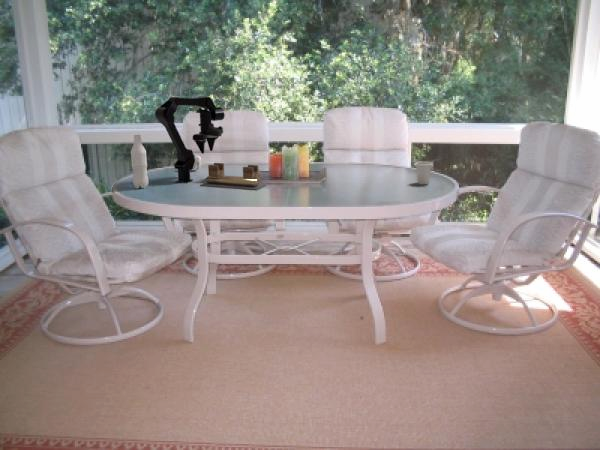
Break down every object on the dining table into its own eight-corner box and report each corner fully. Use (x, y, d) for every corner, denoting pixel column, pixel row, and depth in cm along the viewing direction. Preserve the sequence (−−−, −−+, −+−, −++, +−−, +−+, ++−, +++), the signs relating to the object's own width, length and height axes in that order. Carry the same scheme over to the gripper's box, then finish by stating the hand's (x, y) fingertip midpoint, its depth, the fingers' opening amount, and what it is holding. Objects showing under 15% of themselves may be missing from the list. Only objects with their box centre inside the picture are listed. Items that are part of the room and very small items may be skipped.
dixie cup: (431, 184, 290) (433, 164, 287) (414, 184, 292) (415, 164, 289) (431, 181, 298) (432, 161, 295) (414, 181, 300) (415, 161, 297)
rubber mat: (257, 190, 280) (257, 188, 280) (200, 186, 290) (200, 184, 289) (266, 185, 290) (266, 184, 290) (210, 181, 300) (210, 180, 299)
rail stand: (254, 184, 293) (254, 168, 291) (205, 180, 302) (204, 165, 299) (261, 180, 301) (261, 165, 299) (213, 177, 310) (213, 162, 308)
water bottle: (144, 189, 282) (140, 136, 275) (130, 189, 284) (126, 136, 277) (151, 186, 289) (147, 134, 282) (137, 185, 290) (133, 134, 284)
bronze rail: (256, 188, 284) (254, 183, 282) (208, 184, 293) (205, 180, 290) (258, 182, 286) (256, 178, 283) (210, 179, 294) (207, 174, 292)
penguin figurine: (199, 155, 324) (177, 157, 325) (201, 171, 327) (180, 173, 327) (201, 153, 331) (179, 156, 331) (203, 169, 333) (182, 171, 333)
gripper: (211, 124, 293) (212, 155, 297) (228, 120, 310) (229, 150, 314) (191, 123, 296) (192, 154, 300) (208, 119, 313) (210, 149, 317)
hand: (207, 152), depth 308 cm, fingers open, 9 cm apart
